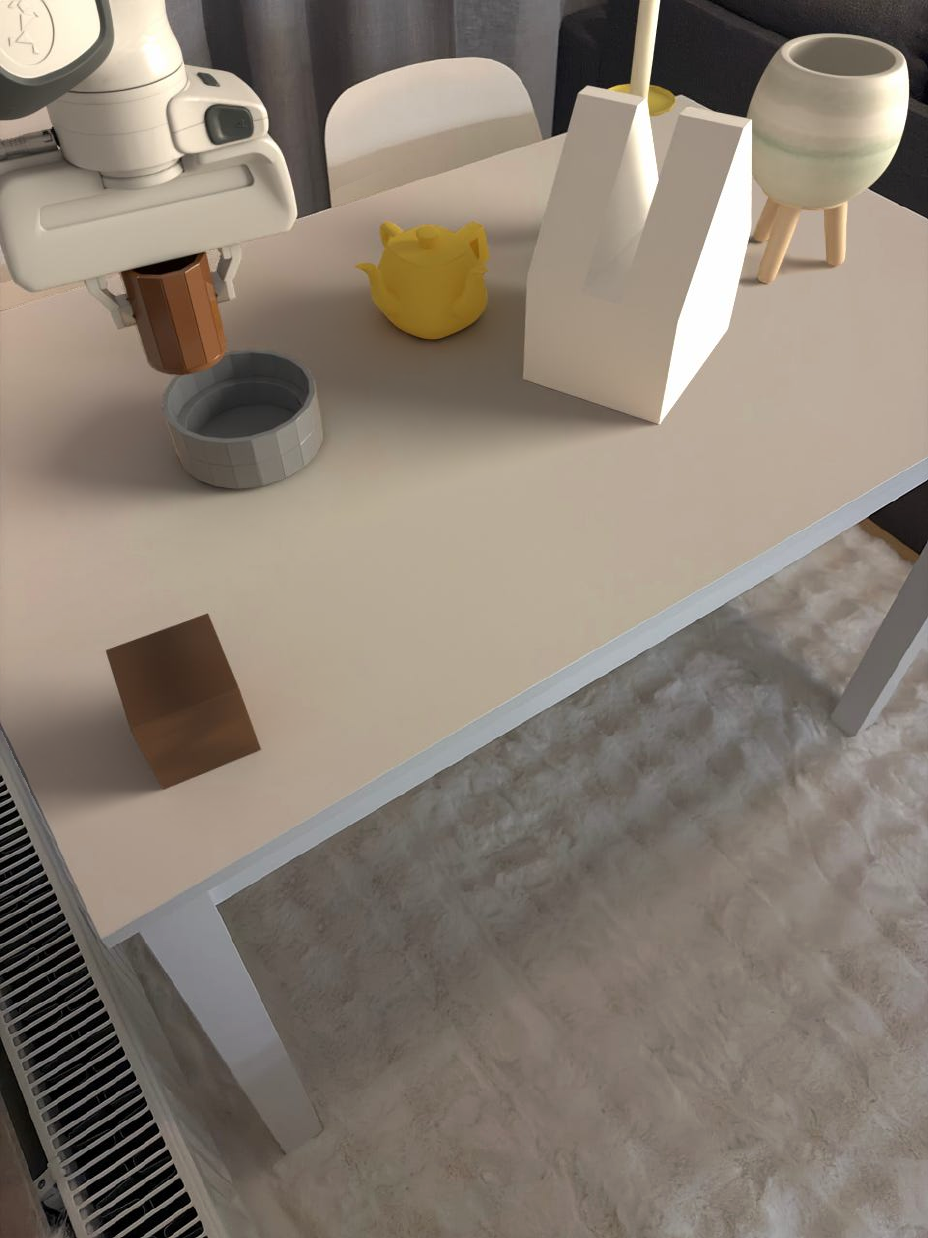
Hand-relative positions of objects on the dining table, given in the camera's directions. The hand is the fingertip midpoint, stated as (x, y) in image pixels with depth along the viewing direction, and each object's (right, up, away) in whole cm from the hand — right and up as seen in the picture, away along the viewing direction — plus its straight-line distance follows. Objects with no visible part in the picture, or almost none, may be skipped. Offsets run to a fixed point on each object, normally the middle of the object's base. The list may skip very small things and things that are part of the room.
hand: (176, 310), depth 69 cm
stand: (+2, -32, 0) cm, 32 cm away
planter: (+61, +20, +41) cm, 76 cm away
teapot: (+18, +11, +35) cm, 41 cm away
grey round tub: (+1, -6, +21) cm, 22 cm away
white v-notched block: (+39, +5, +30) cm, 50 cm away
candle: (+42, +26, +47) cm, 68 cm away
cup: (0, -2, +3) cm, 4 cm away
